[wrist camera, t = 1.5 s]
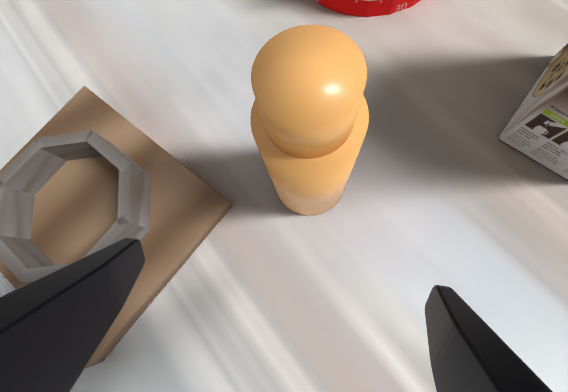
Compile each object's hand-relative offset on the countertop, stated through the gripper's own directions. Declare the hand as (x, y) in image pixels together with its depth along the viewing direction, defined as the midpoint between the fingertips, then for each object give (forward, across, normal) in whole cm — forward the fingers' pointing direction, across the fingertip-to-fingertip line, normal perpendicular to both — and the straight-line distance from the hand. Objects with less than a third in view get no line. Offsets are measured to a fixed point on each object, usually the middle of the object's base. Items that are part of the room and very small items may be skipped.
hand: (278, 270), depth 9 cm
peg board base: (+10, +16, +8) cm, 21 cm away
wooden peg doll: (+14, 0, +4) cm, 14 cm away
